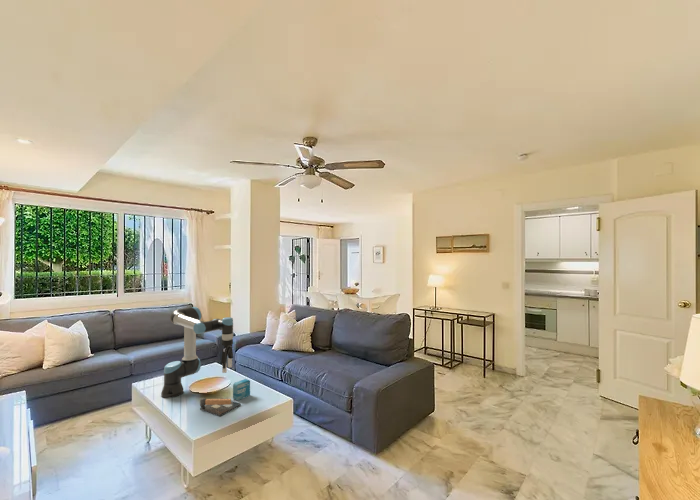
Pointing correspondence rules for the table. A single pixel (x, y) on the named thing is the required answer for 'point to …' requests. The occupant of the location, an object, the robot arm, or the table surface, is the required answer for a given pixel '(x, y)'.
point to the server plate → (220, 408)
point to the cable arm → (214, 401)
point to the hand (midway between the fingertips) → (227, 369)
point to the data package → (241, 389)
